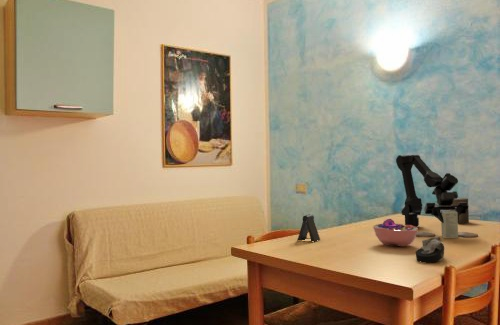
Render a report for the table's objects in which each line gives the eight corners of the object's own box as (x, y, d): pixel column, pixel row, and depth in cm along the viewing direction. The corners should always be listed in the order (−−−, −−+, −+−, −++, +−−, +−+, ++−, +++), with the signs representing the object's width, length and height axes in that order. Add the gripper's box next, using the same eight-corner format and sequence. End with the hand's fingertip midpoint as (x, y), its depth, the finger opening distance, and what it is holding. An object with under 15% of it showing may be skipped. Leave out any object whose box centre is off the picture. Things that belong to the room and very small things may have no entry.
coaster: (409, 236, 207) (409, 234, 207) (412, 232, 216) (412, 231, 216) (433, 237, 201) (433, 236, 201) (436, 233, 211) (436, 232, 211)
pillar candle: (472, 223, 238) (471, 196, 238) (454, 224, 238) (453, 197, 238) (463, 221, 248) (463, 195, 248) (446, 221, 248) (446, 195, 248)
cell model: (399, 252, 173) (398, 224, 173) (364, 244, 191) (364, 218, 191) (428, 247, 181) (428, 220, 181) (392, 239, 199) (392, 215, 199)
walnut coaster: (451, 236, 203) (451, 235, 203) (453, 232, 213) (453, 231, 213) (477, 238, 198) (477, 236, 198) (478, 234, 207) (478, 232, 207)
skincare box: (454, 236, 203) (454, 210, 203) (458, 238, 199) (458, 212, 198) (441, 236, 204) (440, 210, 203) (444, 238, 199) (443, 212, 199)
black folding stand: (320, 240, 202) (319, 214, 202) (314, 242, 198) (314, 216, 197) (303, 238, 208) (302, 213, 207) (297, 240, 203) (296, 215, 203)
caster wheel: (423, 270, 155) (412, 259, 165) (455, 263, 155) (442, 252, 165) (419, 252, 154) (409, 242, 164) (452, 245, 154) (439, 235, 164)
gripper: (425, 186, 206) (432, 212, 195) (466, 185, 203) (476, 211, 193) (421, 200, 214) (428, 226, 203) (461, 200, 211) (470, 226, 201)
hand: (450, 222), depth 200 cm, fingers closed on skincare box, 6 cm apart
